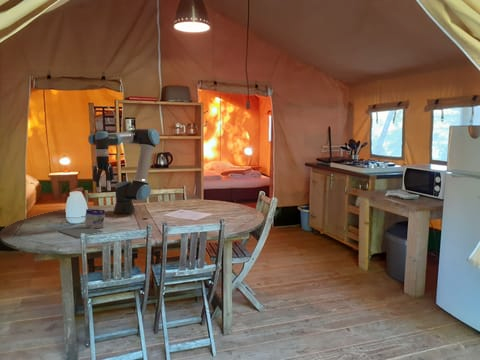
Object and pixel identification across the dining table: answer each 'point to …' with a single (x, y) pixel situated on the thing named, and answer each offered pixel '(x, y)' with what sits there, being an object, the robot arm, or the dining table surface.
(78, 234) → the rubber mat
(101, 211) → the ink box
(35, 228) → the dining table surface
